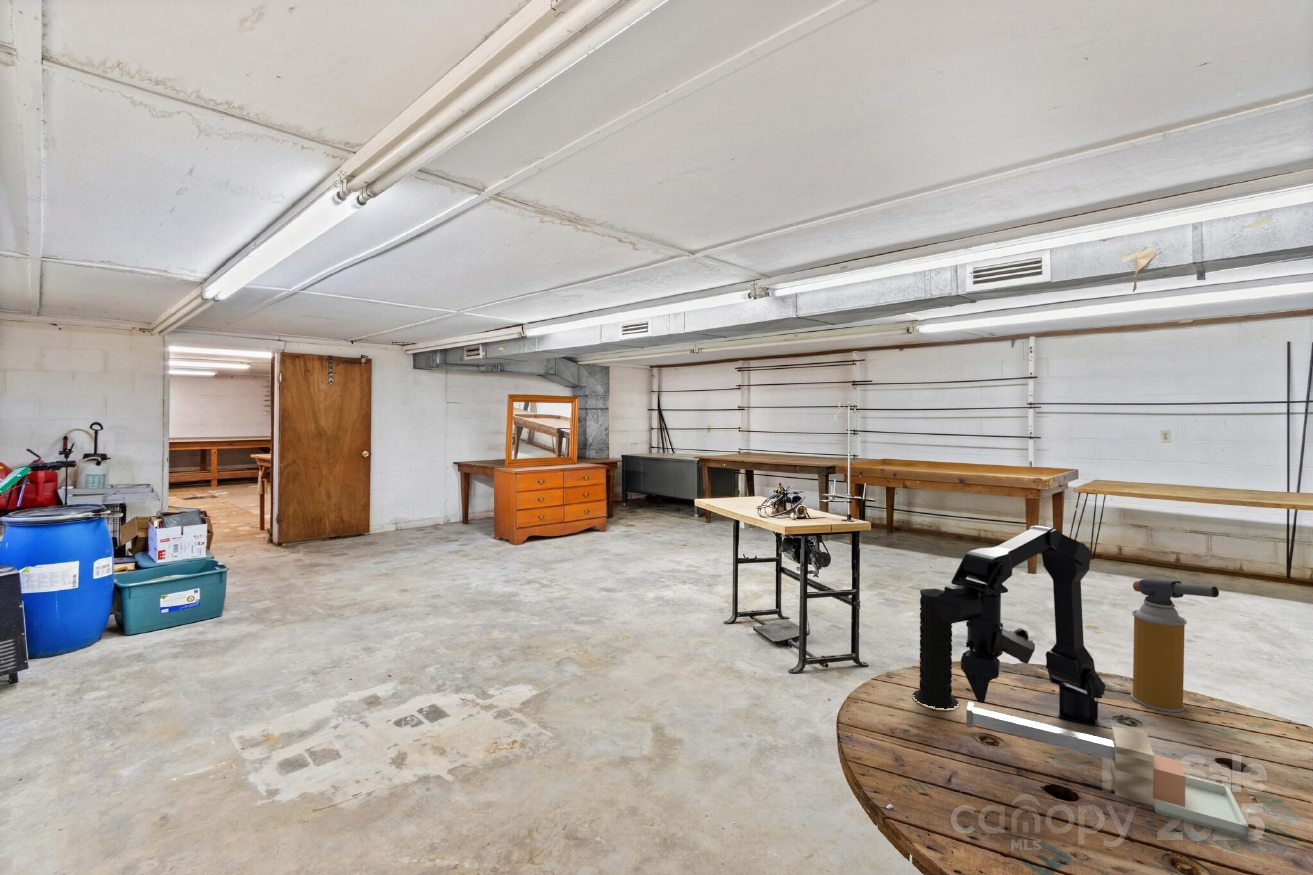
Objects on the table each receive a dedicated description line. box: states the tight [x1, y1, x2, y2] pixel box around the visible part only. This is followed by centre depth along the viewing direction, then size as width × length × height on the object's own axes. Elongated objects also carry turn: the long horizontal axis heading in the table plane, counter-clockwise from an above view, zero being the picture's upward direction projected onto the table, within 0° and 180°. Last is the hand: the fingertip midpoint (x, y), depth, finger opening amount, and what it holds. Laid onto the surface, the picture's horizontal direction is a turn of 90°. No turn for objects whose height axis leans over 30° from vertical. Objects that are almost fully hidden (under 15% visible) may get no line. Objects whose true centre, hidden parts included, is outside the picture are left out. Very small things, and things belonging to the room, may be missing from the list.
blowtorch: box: [1130, 578, 1220, 713], centre depth 130 cm, size 9×16×30 cm, turn 15°
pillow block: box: [1110, 725, 1155, 807], centre depth 102 cm, size 5×8×9 cm, turn 146°
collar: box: [1153, 754, 1186, 807], centre depth 99 cm, size 4×5×5 cm
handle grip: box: [912, 588, 959, 709], centre depth 134 cm, size 10×26×10 cm
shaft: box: [965, 701, 1115, 761], centre depth 109 cm, size 26×4×4 cm, turn 56°
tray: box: [1153, 774, 1249, 840], centre depth 98 cm, size 11×12×2 cm
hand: (983, 693), depth 115 cm, fingers open, 9 cm apart
